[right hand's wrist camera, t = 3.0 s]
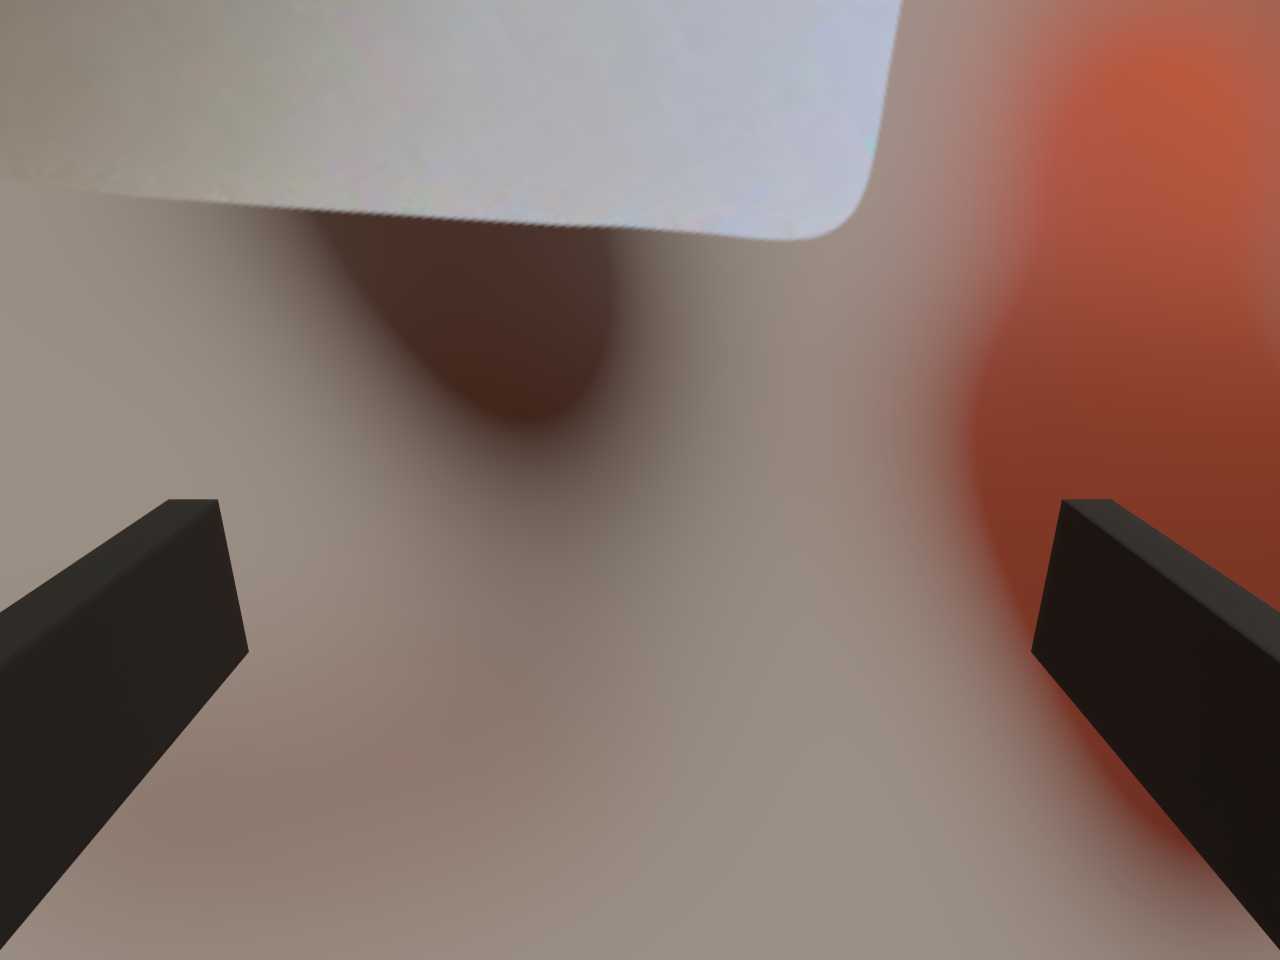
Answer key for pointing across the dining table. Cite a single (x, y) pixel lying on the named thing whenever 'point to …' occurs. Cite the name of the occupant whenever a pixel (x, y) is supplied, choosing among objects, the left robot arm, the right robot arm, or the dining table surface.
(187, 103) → the dining table surface
